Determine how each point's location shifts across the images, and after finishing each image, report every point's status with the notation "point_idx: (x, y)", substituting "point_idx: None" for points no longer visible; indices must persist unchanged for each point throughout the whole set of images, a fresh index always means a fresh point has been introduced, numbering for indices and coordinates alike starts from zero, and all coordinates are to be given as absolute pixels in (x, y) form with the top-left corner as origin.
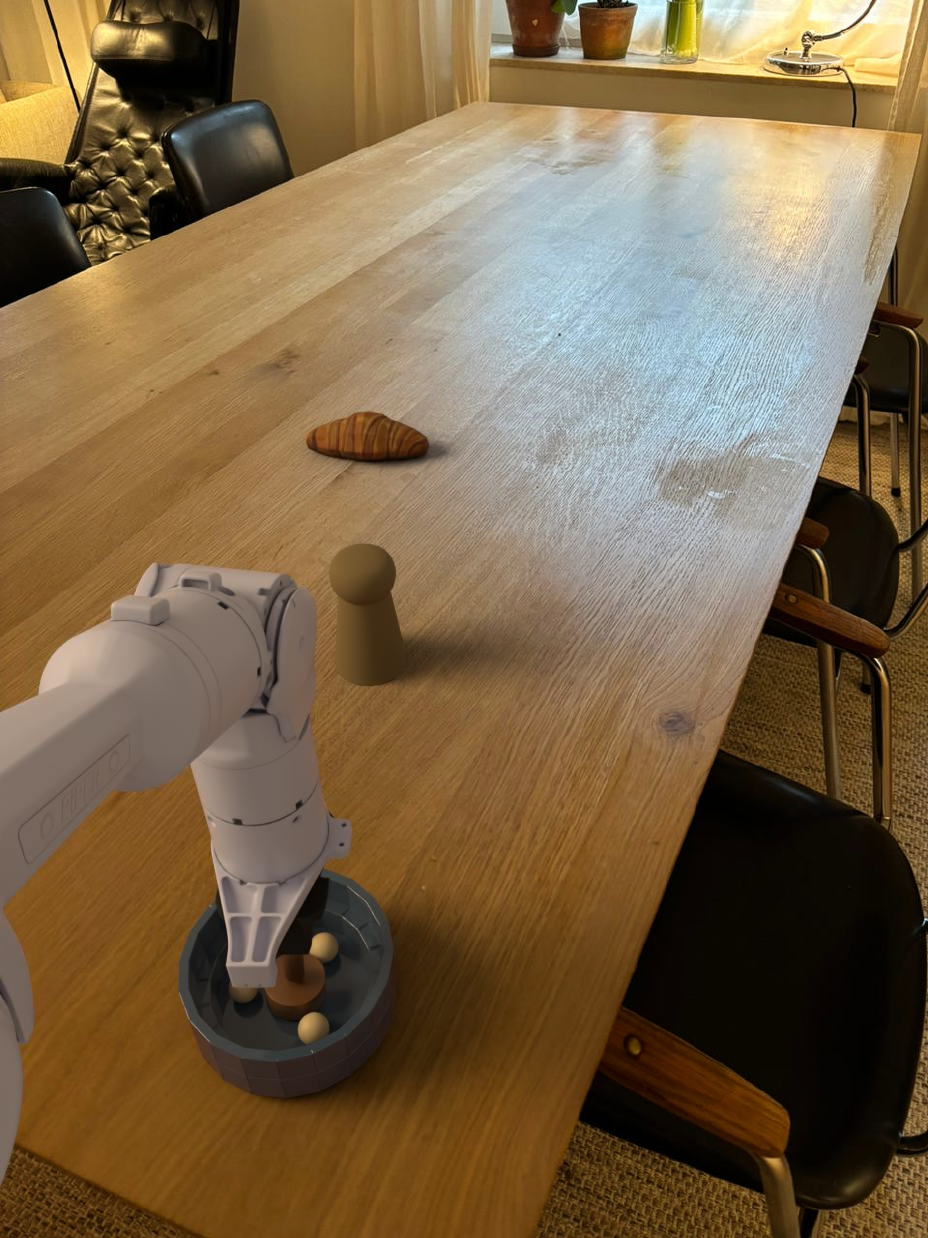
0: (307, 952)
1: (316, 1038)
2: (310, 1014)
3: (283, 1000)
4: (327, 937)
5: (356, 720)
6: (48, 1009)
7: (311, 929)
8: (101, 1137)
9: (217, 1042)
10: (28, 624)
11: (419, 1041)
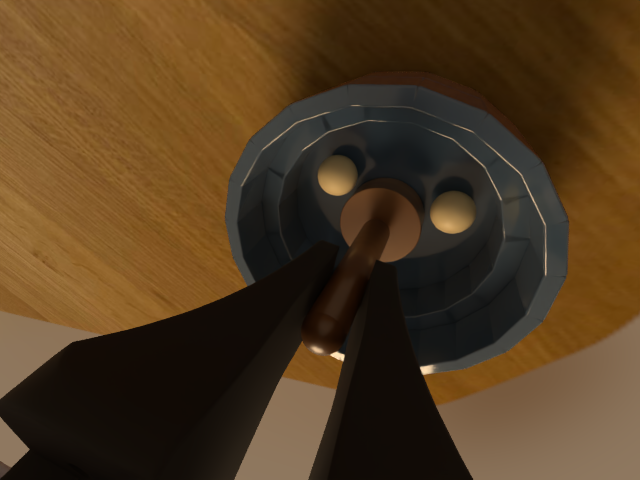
0: (397, 273)
1: (474, 216)
2: (438, 219)
3: (406, 247)
4: (328, 174)
5: (24, 62)
6: (336, 373)
7: (418, 364)
8: (461, 375)
9: (467, 364)
10: (43, 313)
11: (525, 45)
